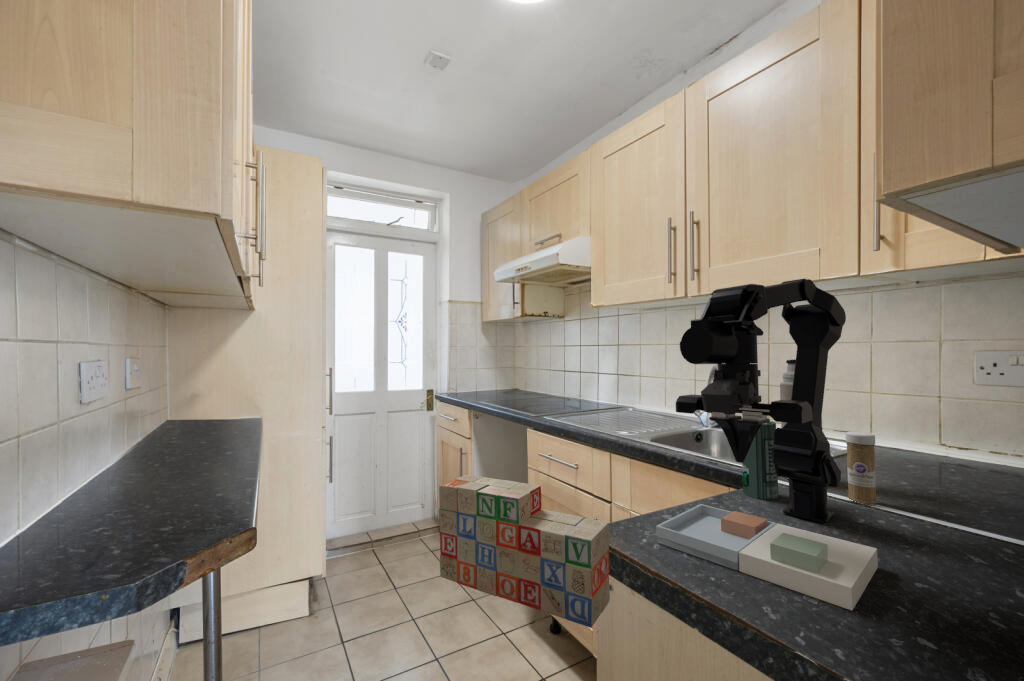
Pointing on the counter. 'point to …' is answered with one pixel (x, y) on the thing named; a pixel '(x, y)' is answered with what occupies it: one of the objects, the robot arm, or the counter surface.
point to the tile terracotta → (742, 524)
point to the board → (833, 581)
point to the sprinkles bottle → (861, 467)
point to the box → (704, 535)
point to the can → (761, 465)
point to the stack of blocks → (523, 548)
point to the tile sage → (799, 552)
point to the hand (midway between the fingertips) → (740, 462)
